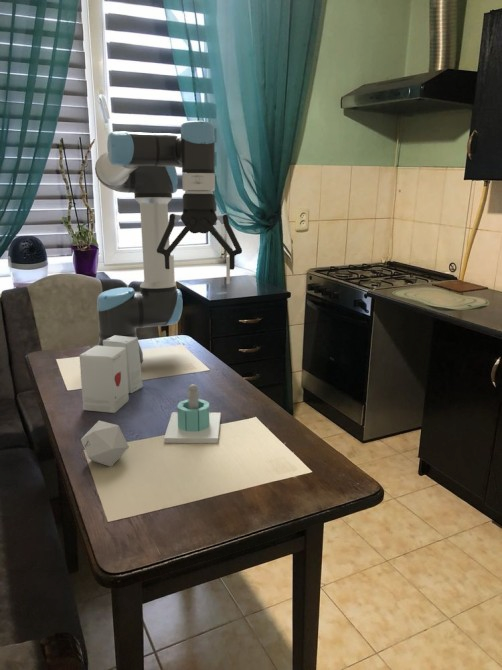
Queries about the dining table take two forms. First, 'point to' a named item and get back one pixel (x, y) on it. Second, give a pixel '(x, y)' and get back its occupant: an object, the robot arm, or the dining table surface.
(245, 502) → the dining table surface
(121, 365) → the supplement box
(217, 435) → the post stand
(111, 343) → the skincare box
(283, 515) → the dining table surface
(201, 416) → the teal ring
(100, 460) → the die
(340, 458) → the dining table surface
